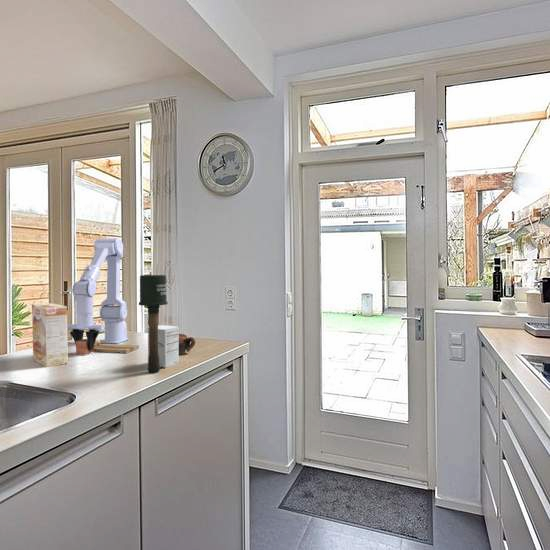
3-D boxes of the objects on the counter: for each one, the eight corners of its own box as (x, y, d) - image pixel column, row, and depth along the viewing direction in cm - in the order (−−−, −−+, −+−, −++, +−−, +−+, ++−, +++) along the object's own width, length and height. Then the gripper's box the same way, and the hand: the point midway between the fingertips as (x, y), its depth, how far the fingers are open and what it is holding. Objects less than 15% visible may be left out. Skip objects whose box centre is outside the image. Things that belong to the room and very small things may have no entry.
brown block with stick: (94, 348, 162) (94, 335, 162) (103, 348, 162) (103, 336, 162) (76, 354, 152) (75, 341, 151) (85, 355, 151) (85, 341, 151)
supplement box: (147, 366, 135) (146, 327, 135) (162, 361, 142) (161, 324, 142) (165, 368, 132) (164, 329, 132) (179, 363, 139) (179, 325, 139)
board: (97, 346, 166) (97, 343, 166) (138, 348, 163) (138, 345, 163) (83, 351, 157) (83, 348, 157) (126, 353, 154) (126, 349, 154)
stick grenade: (160, 376, 123) (159, 275, 122) (133, 374, 125) (132, 275, 124) (172, 369, 131) (172, 274, 130) (148, 367, 133) (147, 274, 132)
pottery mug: (161, 357, 150) (160, 335, 154) (173, 363, 158) (172, 342, 162) (191, 349, 148) (190, 328, 152) (202, 356, 156) (200, 335, 160)
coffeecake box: (32, 359, 144) (31, 304, 143) (54, 356, 149) (53, 302, 148) (45, 367, 133) (44, 307, 133) (68, 363, 138) (67, 305, 138)
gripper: (59, 314, 151) (60, 351, 151) (96, 315, 148) (96, 352, 148) (72, 311, 157) (73, 347, 158) (107, 312, 155) (107, 348, 155)
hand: (85, 349), depth 154 cm, fingers closed on brown block with stick, 4 cm apart
